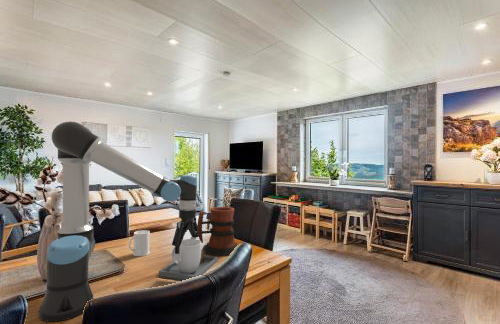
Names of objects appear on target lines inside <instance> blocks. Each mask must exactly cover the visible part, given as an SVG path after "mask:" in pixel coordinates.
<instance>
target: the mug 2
mask: <svg viewBox="0 0 500 324" xmlns="http://www.w3.org/2000/svg"><path fill="white" fill-rule="evenodd" d="M181 246H182V251H181V261H175V246H173V247H174V248H173V249H172V252H171V259H172V262H175V263H176V264H178V267H179V269H180V271H181V272H182V273H184V274H191V273H194V272H195V271H196V270H197V268H198V266H199V263H200V259H201V250H202V243H201V241H200V239H197V238H196V239H190V238H187V239H183V240H182V243H181Z"/></svg>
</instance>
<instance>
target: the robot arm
mask: <svg viewBox="0 0 500 324" xmlns="http://www.w3.org/2000/svg"><path fill="white" fill-rule="evenodd" d="M51 141H52V144H53V145H54V147H55V148H56V149H57V161H59V162H60V163H61V164H62V226H61V227H60V228H59V229H58V230H57V239H55V240H53V241H51V243H50V244H49V245H48V247H47V251H46V258H47V259H46V290H45V291H46V292H45V293H44V296H43V299H42V302H41V305H40V306H39V309H38V310H39V311H38V318H39V319H40V320H41V321H42V322H43V321H44V322H48V321H51V322H52V321H54V322H61V321H66V320H70V319H73V318H76V317H78V316H80V315H83V314H84V313H83V310H84V307H85V305H86V303H87V301H89V300H91V299H93V300H94V294H93V292H92V288H91V286H90V284H89V261H90V258H91V256H92V253H93V252H94V249H95V247H96V240H95V237H94V226H93V225H92V224H91V223H90V164H91V162H93V163H94V164H96V165H98V166H100V167H102V168H104V169H106V170H108V171H110V172H112V173H114V174H116V175H117V176H120V177H122V178H124V180H127V181H130V182H131V183H133V184H135V185H136V186H139V187H140V188H141V189H142V188H143V189H145V190H146V191H148V192H150V193H151V196H152V197H155V198H157V197H158V198H162V199H163V200H164V201H165V202H175V201H177V200H178V199H179V204H178V208H179V210H178V217H179V219H180V220H181V221H180V222H179V221H177V222H176V228H175V230H174V231H175V232H174V234H173V235H174V236H173V239H172V243H171V245H172V246H173V247H175V261H181V251H182V246H181V243H182V240H184V237H185V235H186V233H187V232H189V234H190V238H189V239H197V238H199V237H198V236H199V231H198V227H197V223H198V221H197V217H196V216H197V214H196V213H197V190H198V181H197V180H198V178H197V176H195V175H181V176H180V178H179V179H168V178H167V177H165V176H163V175H162V174H161V173H158V172H157V171H155V170H153V169H151V168H149V167H147V166H146V165H144V164H142V163H140V162H139V161H137V160H134V158H131V157H129V156H128V155H126V154H124V153H123V152H120V151H119V150H117V149H115V148H113V147H112V146H109V145H108V144H106V143H104V142H102V140H101V137H99V136H98V135H96V134H95V133H93V132H92V131H91V130H90V129H89V128H87V127H86V126H84V125H83V124H81V123H79V122H76V121H64V122H61V123H59V124H58V125H56V126H55V127H54V129H53V130H52V132H51Z"/></svg>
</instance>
